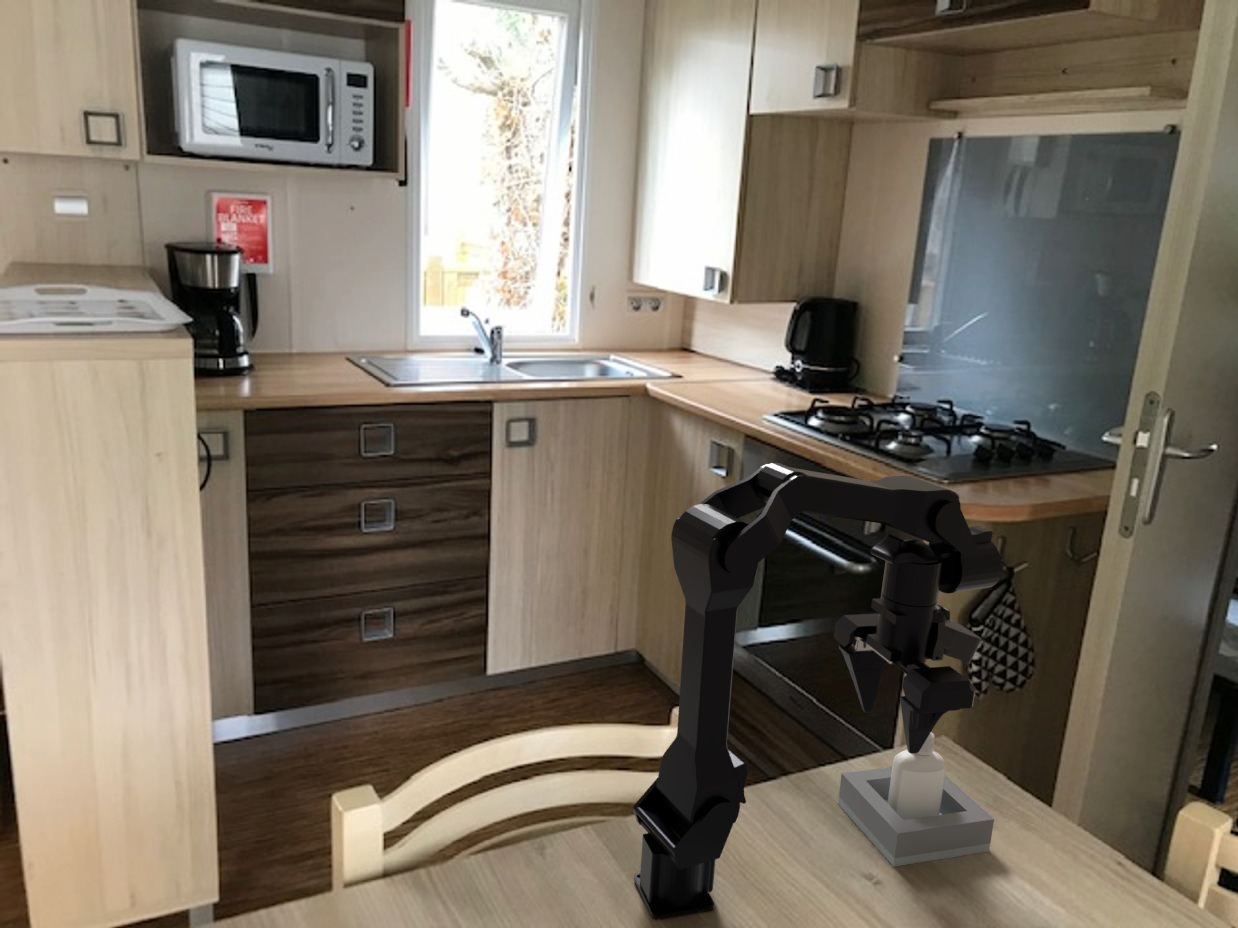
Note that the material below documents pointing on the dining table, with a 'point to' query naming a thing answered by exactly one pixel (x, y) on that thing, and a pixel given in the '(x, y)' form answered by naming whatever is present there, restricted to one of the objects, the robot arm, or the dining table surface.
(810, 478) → the robot arm
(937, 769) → the eye dropper bottle
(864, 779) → the holder block
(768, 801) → the dining table surface
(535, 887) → the dining table surface
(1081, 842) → the dining table surface
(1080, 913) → the dining table surface
